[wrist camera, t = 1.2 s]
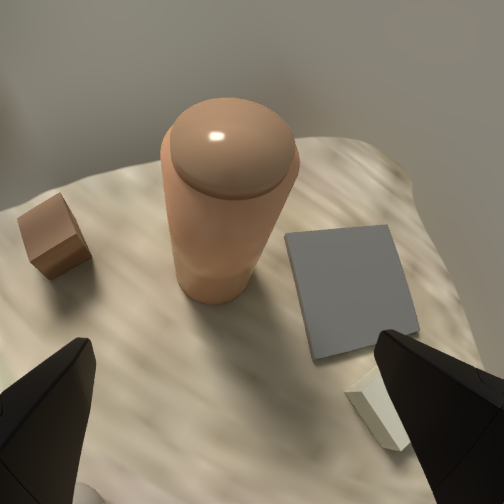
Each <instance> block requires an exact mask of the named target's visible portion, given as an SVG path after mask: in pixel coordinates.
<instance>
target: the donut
mask: <svg viewBox="0 0 504 504" xmlns="http://www.w3.org/2000/svg"><path fill="white" fill-rule="evenodd" d="M72 504H106V503H105V501H104V499H103V498H102V497H101V496H100V495H99V493H98V492H97V491H96V490H95V489H93V488H92V487H90V486H89V485H87V484H84V483H81V482H76V484H75V490H74V496H73V503H72Z"/></svg>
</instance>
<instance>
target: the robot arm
mask: <svg viewBox="0 0 504 504" xmlns="http://www.w3.org/2000/svg"><path fill="white" fill-rule="evenodd" d="M374 357H375V360H376V363H377V366H378V368H379V371H380V374H381V377H382V379H383V382H384V385H385V388H386V390H387V393H388V395H389V397H390V399H391V401H392V404H393V406H394V408H395V410H396V412H397V414H398V416H399V418H400V420H401V422H402V425H403V427H404V429H405V431H406V433H407V435H408V438H409V440H410V442H411V444H412V446H413V449H414V451H415V453H416V455H417V457H418V460H419V462H420V464H421V467H422V469H423V471H424V473H425V476H426V478H427V480H428V483H429V485H430V488H431V490H432V492H433V495H434V497H435V500H436V502H437V504H504V379H501V378H498V377H496V376H494V375H491V374H489V373H487V372H485V371H482V370H480V369H478V368H475V367H473V366H471V365H469V364H467V363H465V362H463V361H460V360H458V359H456V358H454V357H452V356H450V355H447V354H445V353H443V352H441V351H439V350H437V349H434V348H432V347H430V346H428V345H426V344H424V343H421V342H419V341H417V340H415V339H413V338H411V337H408V336H406V335H404V334H402V333H400V332H398V331H396V330H393V329H388V330H382V331H381V332H380V334H379V336H378V340H377V343H376V346H375V349H374ZM95 371H96V359H95V355H94V351H93V347H92V343H91V341H90V339H89V338H80V337H78V338H75V339H74V340H72V341H71V342H70V343H68V344H67V345H66V346H64V347H63V348H61V349H60V350H59V351H57V352H56V353H54V354H53V355H52V356H50V357H49V358H48V359H46V360H45V361H43V362H42V363H41V364H39V365H38V366H37V367H35V368H34V369H33V370H31V371H30V372H28V373H27V374H26V375H24V376H23V377H22V378H20V379H19V380H18V381H16V382H15V383H14V384H12V385H11V386H10V387H8V388H7V389H6V390H4V391H3V392H2V393H1V394H0V504H72V503H73V496H74V490H75V484H76V478H77V472H78V466H79V461H80V456H81V451H82V446H83V441H84V436H85V432H86V427H87V423H88V418H89V414H90V409H91V401H92V393H93V385H94V378H95Z"/></svg>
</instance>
